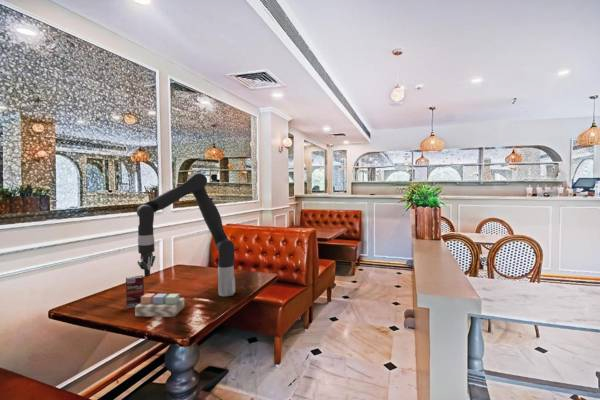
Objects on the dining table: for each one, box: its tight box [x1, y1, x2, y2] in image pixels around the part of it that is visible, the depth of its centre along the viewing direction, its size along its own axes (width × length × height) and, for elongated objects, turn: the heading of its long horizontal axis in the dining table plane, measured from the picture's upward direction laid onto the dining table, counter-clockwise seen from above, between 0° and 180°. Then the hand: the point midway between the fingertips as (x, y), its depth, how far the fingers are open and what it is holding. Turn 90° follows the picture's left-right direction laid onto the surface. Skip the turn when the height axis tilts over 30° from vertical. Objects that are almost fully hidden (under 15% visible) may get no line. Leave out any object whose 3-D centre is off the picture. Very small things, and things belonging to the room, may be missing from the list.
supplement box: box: [125, 274, 145, 309], centre depth 164 cm, size 9×5×16 cm, turn 121°
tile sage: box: [165, 293, 180, 305], centre depth 156 cm, size 5×5×4 cm
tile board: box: [134, 297, 185, 318], centre depth 157 cm, size 20×12×5 cm, turn 87°
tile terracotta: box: [141, 293, 156, 304], centre depth 157 cm, size 5×5×4 cm
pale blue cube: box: [153, 293, 168, 304], centre depth 157 cm, size 5×5×4 cm
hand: (147, 276), depth 156 cm, fingers closed
